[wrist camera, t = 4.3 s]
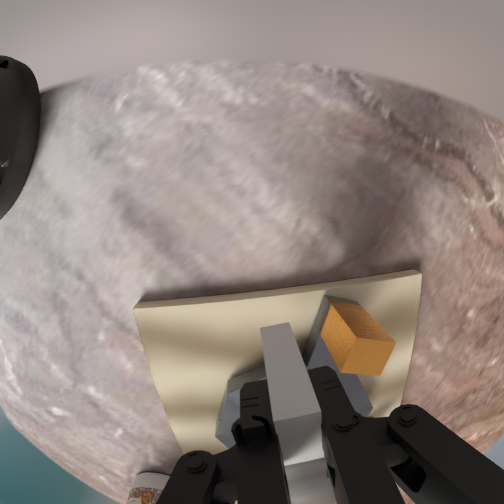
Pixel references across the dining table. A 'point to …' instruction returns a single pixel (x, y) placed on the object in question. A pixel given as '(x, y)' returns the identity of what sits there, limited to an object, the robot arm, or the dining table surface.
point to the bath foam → (147, 488)
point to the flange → (325, 358)
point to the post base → (251, 354)
